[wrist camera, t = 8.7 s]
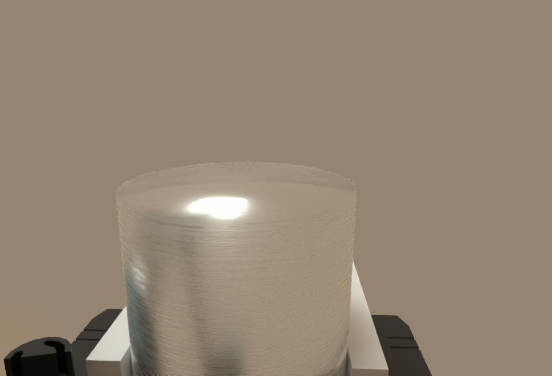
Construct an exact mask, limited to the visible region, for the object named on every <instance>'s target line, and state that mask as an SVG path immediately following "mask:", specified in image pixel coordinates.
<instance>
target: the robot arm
mask: <svg viewBox="0 0 552 376" xmlns="http://www.w3.org/2000/svg"><path fill="white" fill-rule="evenodd" d="M4 364H5V370H6V375H7V376H133V371H132V360H131V350H130V339H129V329H128V318H127V308H126V306H125V308H124V309H107V310H105V311H104V312H102V313H101V314H99V315H97V316H96V317H94V318H93V319H92V320H91V321H90V322H89V324H88V325H87V326H86V327H85V328H84V331H82V332H81V333H80V334H79V336H78V337H77V338H76V341H74V342H73V343H72V344H70V343H69V341H68V340H66V339H63V338H60V337H46V338H41V339H36V340H33V341H30V342H28V343H25V344H23V345H21V346H19V347H17V348H16V349H14V350H13V351H11V352H10V353H9V354H8V355H7V356H6V357H5V358H4ZM346 376H432V375H431V373H430V371H429V369H428V366H427V364H426V362H425V360H424V358H423V356H422V354H421V351H420V350H419V347H418V345H417V343H416V341H415V340H414V337H413V334H412V332H411V330H410V328H409V326H408V325H407V324H406V323H405V322H403V321H402V320H401V319H400V318H399V317H398V316H393V315H392V316H391V315H371V314H370V311H369V308H368V305H367V302H366V299H365V296H364V293H363V290H362V287H361V284H360V281H359V278H358V275H357V271H356V269H355V266H354V262H353V265H352V283H351V301H350V318H349V336H348V351H347V369H346Z"/></svg>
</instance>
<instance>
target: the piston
mask: <svg viewBox="0 0 552 376" xmlns="http://www.w3.org/2000/svg"><path fill="white" fill-rule="evenodd" d="M356 195H357V189H356V186H355V184H354V183H353V182H352V181H350V180H349V179H347V178H345V177H343V176H341V175H339V174H336V173H333V172H330V171H327V170H322V169H318V168H313V167H308V166H301V165H294V164H283V163H270V162H218V163H204V164H193V165H185V166H179V167H173V168H167V169H162V170H157V171H154V172H149V173H146V174H143V175H140V176H137V177H135V178H132V179H130V180H128V181H126V182H125V183H123V184H122V185H121V186H120V187H119V188H118V189H117V191H116V201H117V213H118V223H119V233H120V244H121V255H122V266H123V275H124V287H125V297H126V308H127V318H128V329H129V339H130V350H131V360H132V371H133V376H346V369H347V351H348V336H349V318H350V301H351V283H352V265H353V247H354V230H355V212H356Z"/></svg>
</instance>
